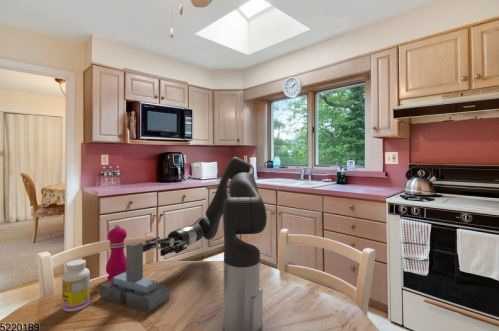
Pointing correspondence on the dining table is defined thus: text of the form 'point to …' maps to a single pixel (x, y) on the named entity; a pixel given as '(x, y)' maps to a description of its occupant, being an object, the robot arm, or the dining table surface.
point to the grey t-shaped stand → (134, 271)
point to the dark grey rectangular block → (135, 296)
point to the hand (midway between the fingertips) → (151, 251)
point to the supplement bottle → (75, 286)
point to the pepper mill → (116, 252)
